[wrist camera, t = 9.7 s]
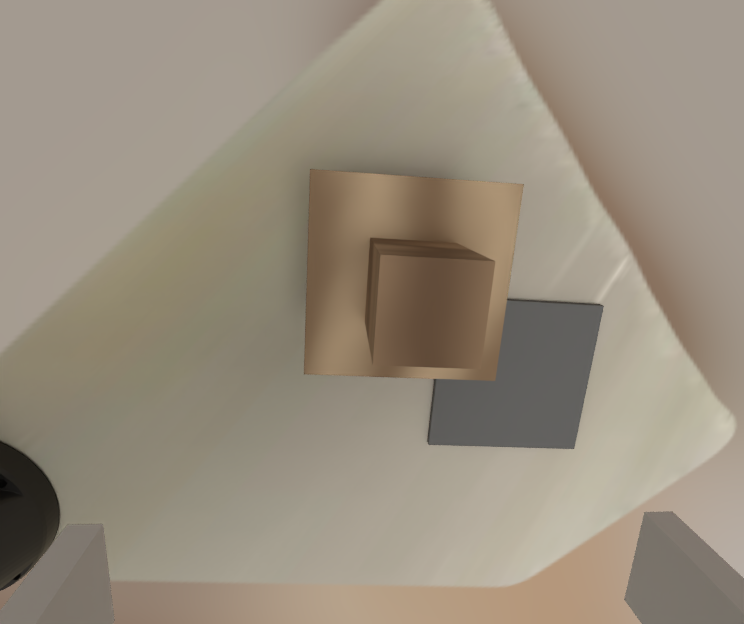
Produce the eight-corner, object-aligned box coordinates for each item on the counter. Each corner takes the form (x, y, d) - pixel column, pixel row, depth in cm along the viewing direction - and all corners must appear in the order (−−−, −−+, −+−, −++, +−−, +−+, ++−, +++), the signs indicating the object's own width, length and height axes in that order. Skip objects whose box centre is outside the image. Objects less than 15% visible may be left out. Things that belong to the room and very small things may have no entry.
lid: (305, 367, 29) (292, 432, 21) (311, 169, 26) (299, 162, 18) (490, 374, 30) (542, 439, 22) (517, 184, 27) (587, 183, 19)
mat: (427, 441, 43) (428, 444, 42) (444, 295, 39) (445, 297, 39) (570, 445, 44) (574, 448, 44) (599, 304, 41) (603, 306, 40)
